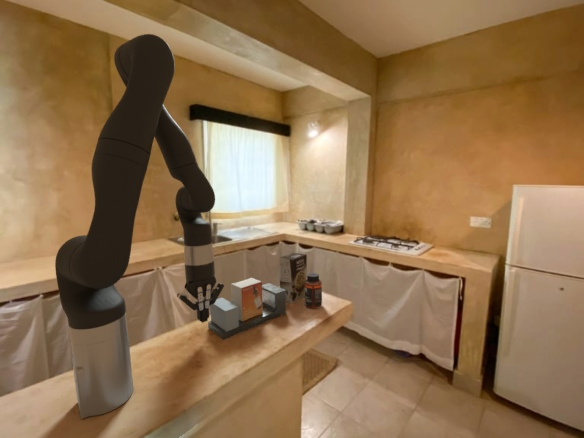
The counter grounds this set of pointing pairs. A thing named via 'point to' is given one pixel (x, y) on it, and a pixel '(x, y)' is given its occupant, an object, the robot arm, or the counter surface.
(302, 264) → the coffee box
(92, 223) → the robot arm
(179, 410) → the counter surface
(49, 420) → the counter surface
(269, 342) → the counter surface
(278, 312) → the vise bed
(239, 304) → the small box
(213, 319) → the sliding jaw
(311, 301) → the supplement bottle
